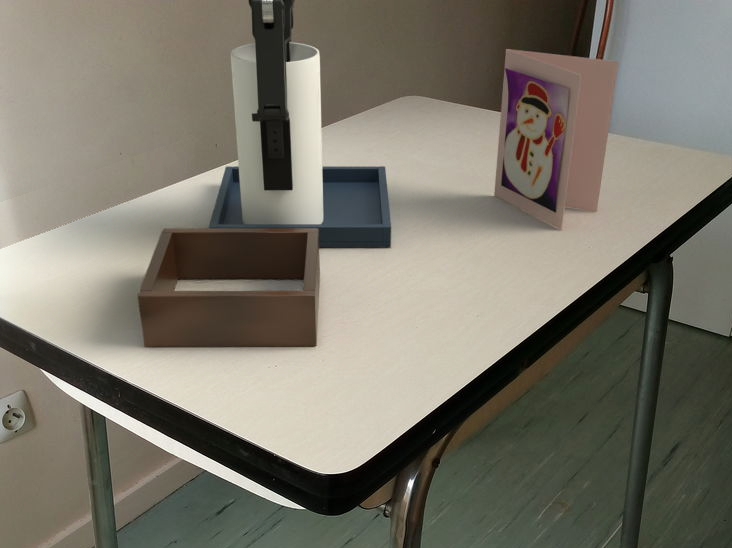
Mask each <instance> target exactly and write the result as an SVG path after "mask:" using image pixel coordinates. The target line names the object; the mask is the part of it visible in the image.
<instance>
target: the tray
mask: <svg viewBox="0 0 732 548" xmlns="http://www.w3.org/2000/svg"><path fill="white" fill-rule="evenodd" d="M322 177H323V222H322V223H321V224H244V223H243V220H242V206H241V192H240V178H239V165H237V166H234V165H233V166H227V165H226V166H225V169H224V172H223V176H222V179H221V182H220V186H219V189H218V193H217V197H216V200H215V203H214V207H213V211H212V215H211V218H210V221H209V224H208V228H318V229H319V249H321V248H326V249H327V248H333V249H334V248H335V249H336V248H337V249H338V248H340V249H341V248H344V249H345V248H353V249H354V248H356V249H357V248H391V247H392V222H391V212H390V203H389V191H388V182H387V171H386V166H381V165H380V166H374V165H373V166H372V165H371V166H365V165H363V166H362V165H361V166H360V165H359V166H357V165H355V166H352V165H351V166H350V165H349V166H348V165H347V166H345V165H344V166H343V165H342V166H340V165H339V166H337V165H336V166H328V165H327V166H324V165H322Z"/></svg>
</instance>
